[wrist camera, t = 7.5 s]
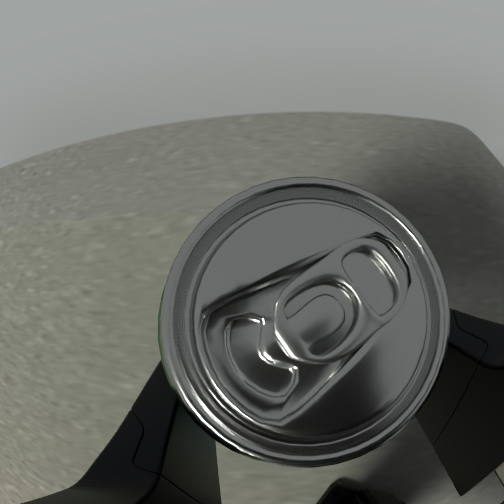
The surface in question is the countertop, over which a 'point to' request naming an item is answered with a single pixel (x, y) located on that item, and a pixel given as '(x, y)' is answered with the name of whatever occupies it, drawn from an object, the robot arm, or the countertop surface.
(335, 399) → the soda can
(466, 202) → the countertop surface
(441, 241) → the countertop surface
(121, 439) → the robot arm
